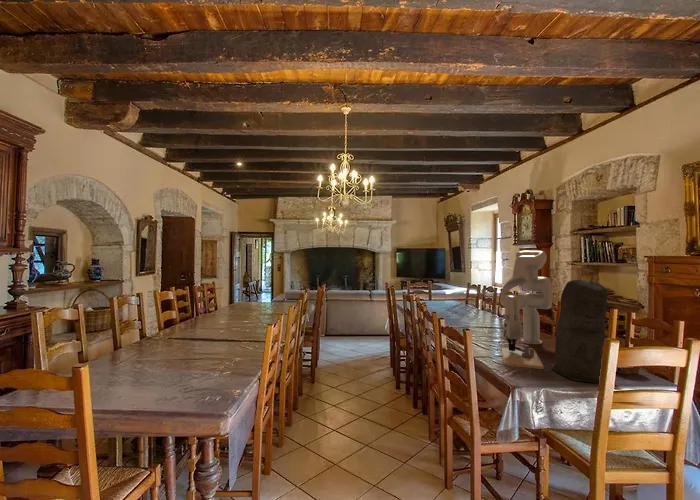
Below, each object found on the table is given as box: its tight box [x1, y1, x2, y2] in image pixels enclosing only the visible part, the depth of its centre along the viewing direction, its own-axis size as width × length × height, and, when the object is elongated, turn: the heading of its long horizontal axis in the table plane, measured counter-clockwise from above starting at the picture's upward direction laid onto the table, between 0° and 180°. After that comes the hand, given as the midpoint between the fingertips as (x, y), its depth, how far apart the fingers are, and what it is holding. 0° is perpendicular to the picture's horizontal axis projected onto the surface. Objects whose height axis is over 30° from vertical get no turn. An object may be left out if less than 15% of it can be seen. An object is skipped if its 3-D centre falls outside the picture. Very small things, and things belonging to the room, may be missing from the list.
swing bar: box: [507, 343, 525, 352], centre depth 209 cm, size 13×2×4 cm, turn 12°
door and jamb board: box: [501, 344, 545, 370], centre depth 203 cm, size 34×18×8 cm, turn 160°
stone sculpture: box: [549, 279, 609, 384], centre depth 171 cm, size 24×21×45 cm
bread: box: [616, 367, 641, 375], centre depth 185 cm, size 19×11×10 cm, turn 14°
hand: (512, 350), depth 209 cm, fingers closed
